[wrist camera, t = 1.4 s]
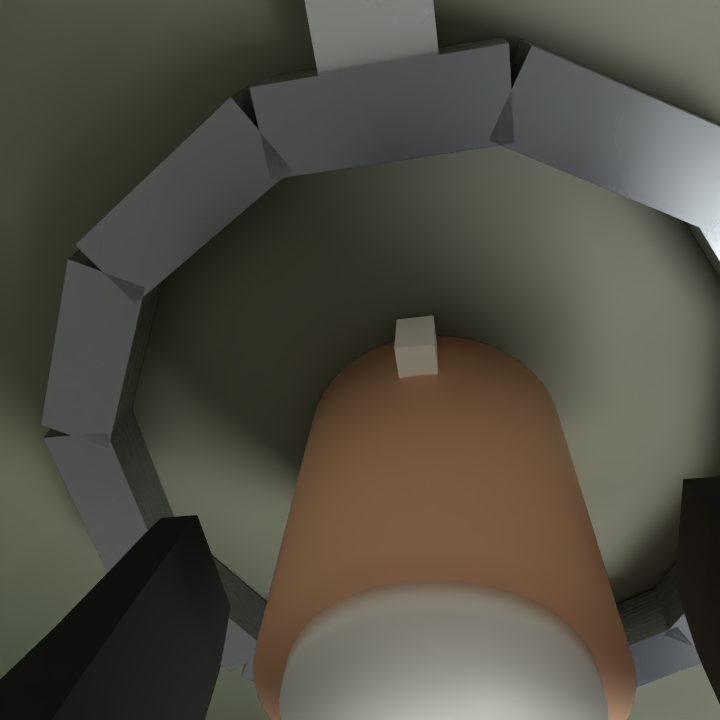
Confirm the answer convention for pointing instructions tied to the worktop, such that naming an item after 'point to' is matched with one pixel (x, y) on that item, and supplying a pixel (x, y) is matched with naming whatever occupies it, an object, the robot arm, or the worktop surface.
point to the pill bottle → (440, 552)
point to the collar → (332, 152)
